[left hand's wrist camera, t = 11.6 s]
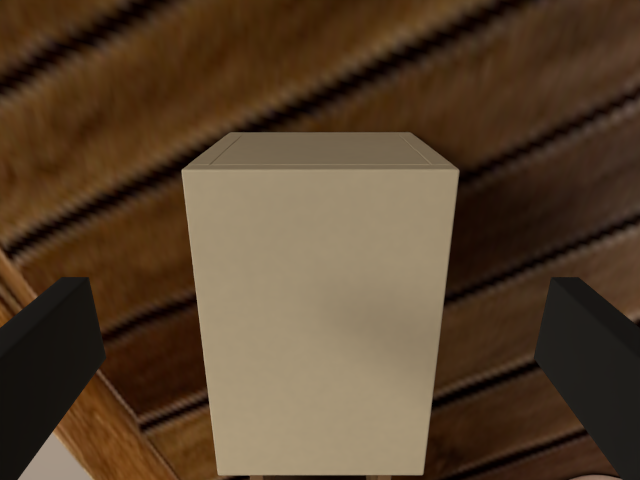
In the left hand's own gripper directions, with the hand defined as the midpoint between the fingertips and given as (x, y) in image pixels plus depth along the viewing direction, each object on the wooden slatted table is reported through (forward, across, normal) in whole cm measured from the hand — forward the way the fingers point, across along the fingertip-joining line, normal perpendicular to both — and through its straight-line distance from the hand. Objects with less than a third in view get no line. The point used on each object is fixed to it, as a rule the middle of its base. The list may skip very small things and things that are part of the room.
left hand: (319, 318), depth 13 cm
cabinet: (+16, 0, -5) cm, 17 cm away
